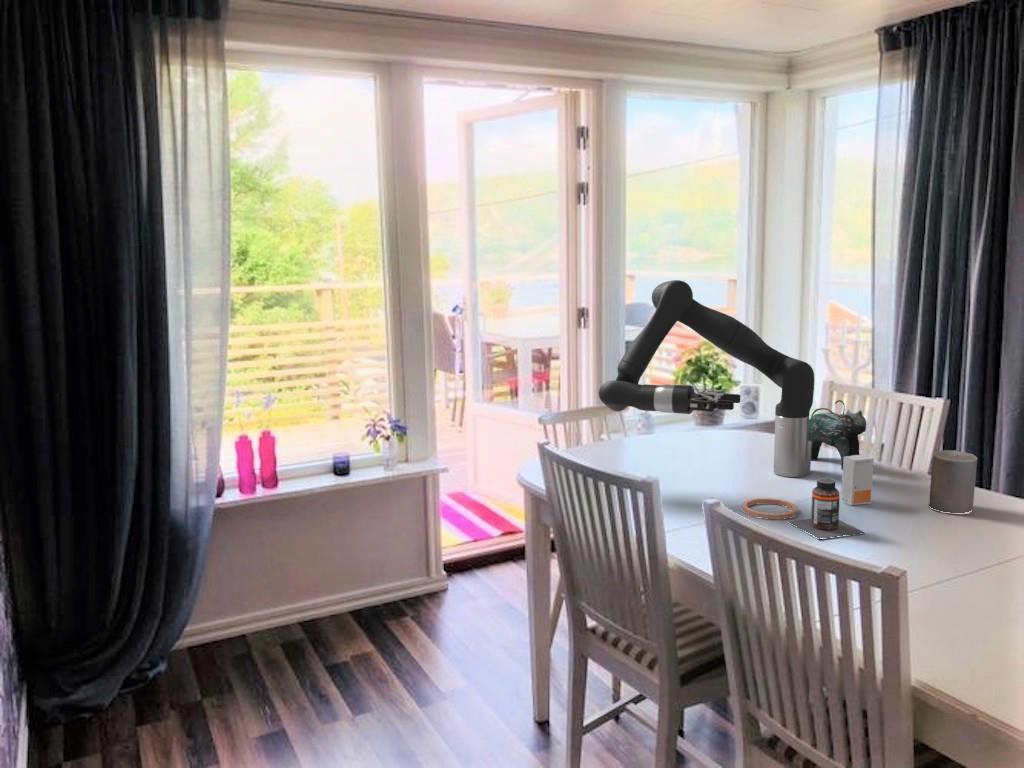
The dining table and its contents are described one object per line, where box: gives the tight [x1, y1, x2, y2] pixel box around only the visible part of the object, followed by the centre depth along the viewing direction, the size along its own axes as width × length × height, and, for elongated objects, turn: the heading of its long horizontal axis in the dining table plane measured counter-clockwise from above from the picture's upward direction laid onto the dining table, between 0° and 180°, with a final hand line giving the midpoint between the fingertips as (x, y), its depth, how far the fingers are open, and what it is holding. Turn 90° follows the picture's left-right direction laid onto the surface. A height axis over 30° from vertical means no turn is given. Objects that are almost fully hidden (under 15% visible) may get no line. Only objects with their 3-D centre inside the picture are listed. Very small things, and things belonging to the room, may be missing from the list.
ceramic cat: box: [808, 399, 867, 471], centre depth 235 cm, size 20×6×20 cm, turn 25°
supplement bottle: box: [810, 477, 841, 530], centre depth 185 cm, size 6×6×11 cm
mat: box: [787, 518, 865, 539], centre depth 186 cm, size 12×12×1 cm
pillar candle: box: [928, 449, 978, 513], centre depth 195 cm, size 10×10×15 cm
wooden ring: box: [741, 497, 799, 520], centre depth 199 cm, size 13×13×1 cm
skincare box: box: [840, 454, 875, 506], centre depth 202 cm, size 6×4×12 cm
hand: (736, 402), depth 202 cm, fingers open, 8 cm apart
